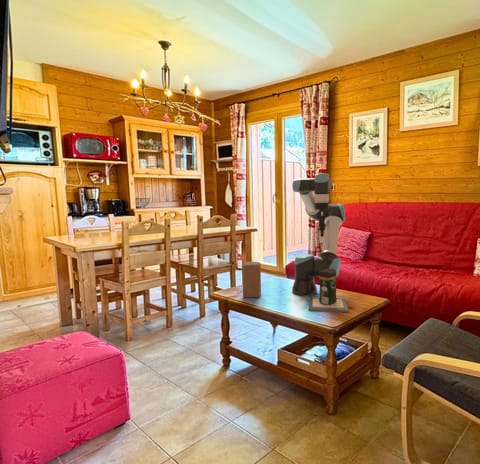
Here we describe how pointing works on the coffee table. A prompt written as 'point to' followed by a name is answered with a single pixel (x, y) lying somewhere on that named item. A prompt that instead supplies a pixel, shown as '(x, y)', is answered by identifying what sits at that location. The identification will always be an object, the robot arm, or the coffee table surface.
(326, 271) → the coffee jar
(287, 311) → the coffee table surface
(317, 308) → the grey square frame
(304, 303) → the coffee table surface
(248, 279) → the wooden block
